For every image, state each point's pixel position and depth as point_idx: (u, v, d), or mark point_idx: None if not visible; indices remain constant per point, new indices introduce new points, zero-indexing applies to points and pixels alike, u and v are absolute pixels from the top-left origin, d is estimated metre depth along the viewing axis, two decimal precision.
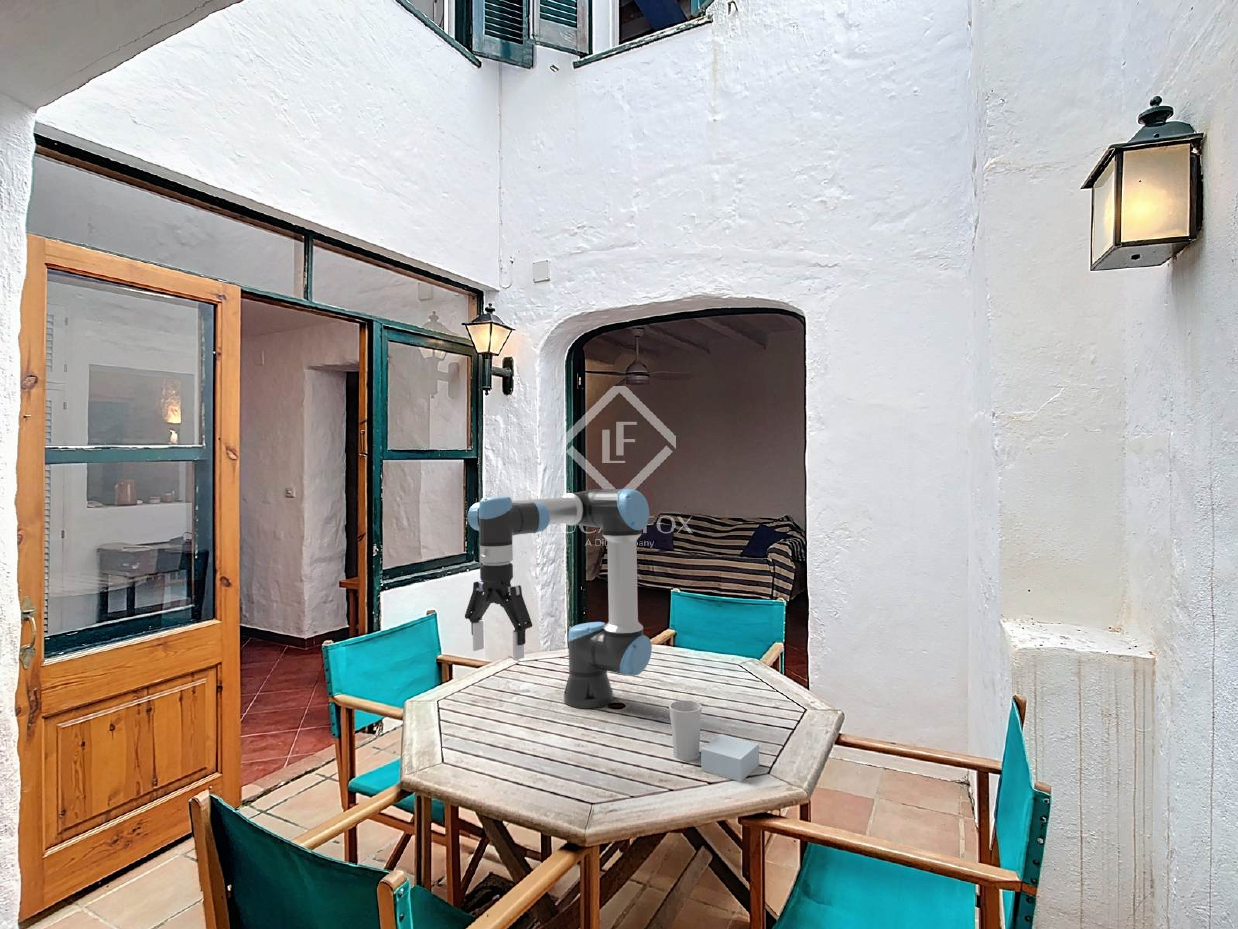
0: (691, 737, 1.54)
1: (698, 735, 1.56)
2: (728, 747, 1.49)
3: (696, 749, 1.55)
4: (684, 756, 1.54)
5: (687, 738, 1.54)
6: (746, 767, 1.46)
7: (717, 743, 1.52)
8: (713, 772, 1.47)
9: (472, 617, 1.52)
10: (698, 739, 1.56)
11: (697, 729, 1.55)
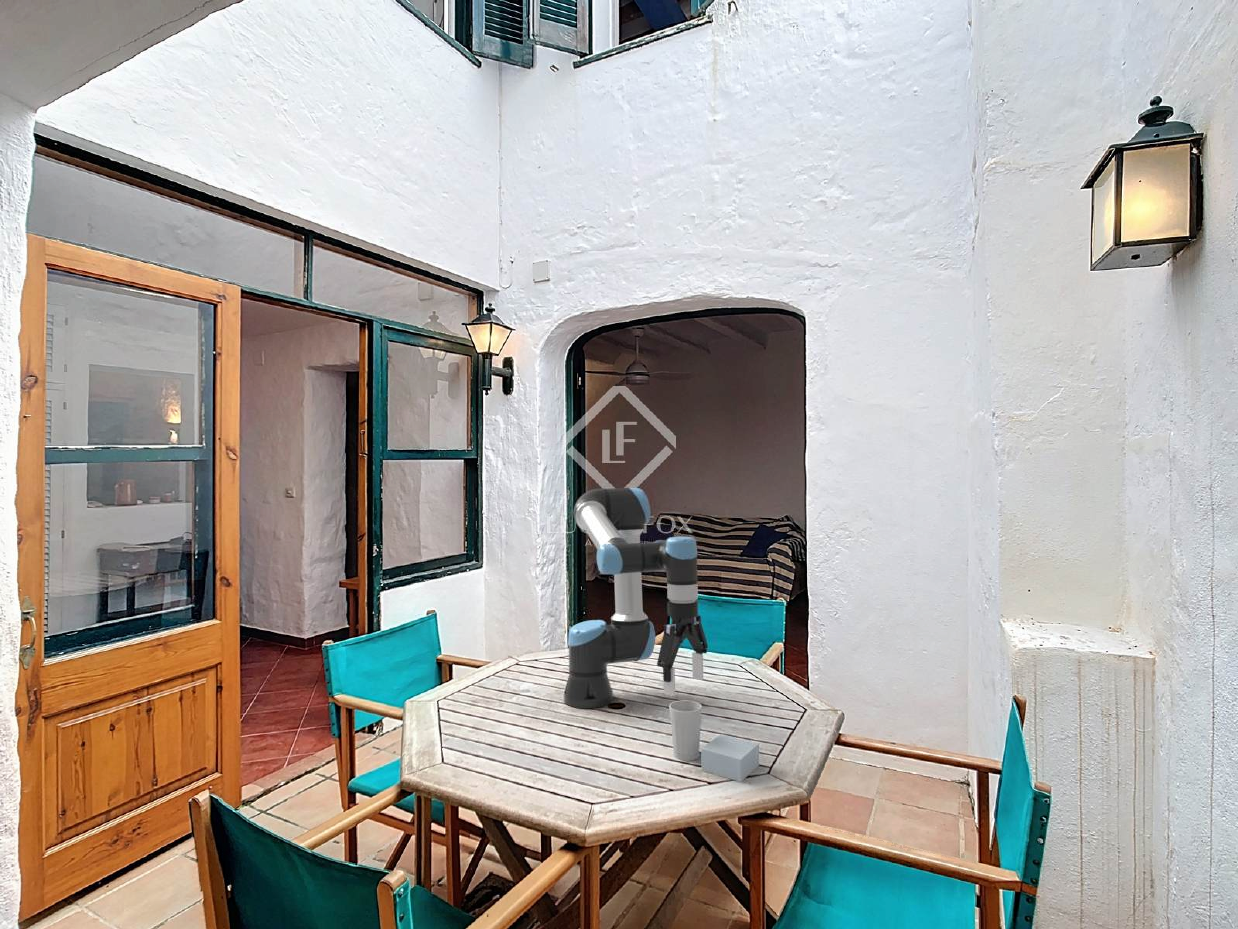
0: (691, 737, 1.54)
1: (698, 735, 1.56)
2: (728, 747, 1.49)
3: (696, 749, 1.55)
4: (684, 756, 1.54)
5: (687, 738, 1.54)
6: (746, 767, 1.46)
7: (717, 743, 1.52)
8: (713, 772, 1.47)
9: None
10: (698, 739, 1.56)
11: (697, 729, 1.55)
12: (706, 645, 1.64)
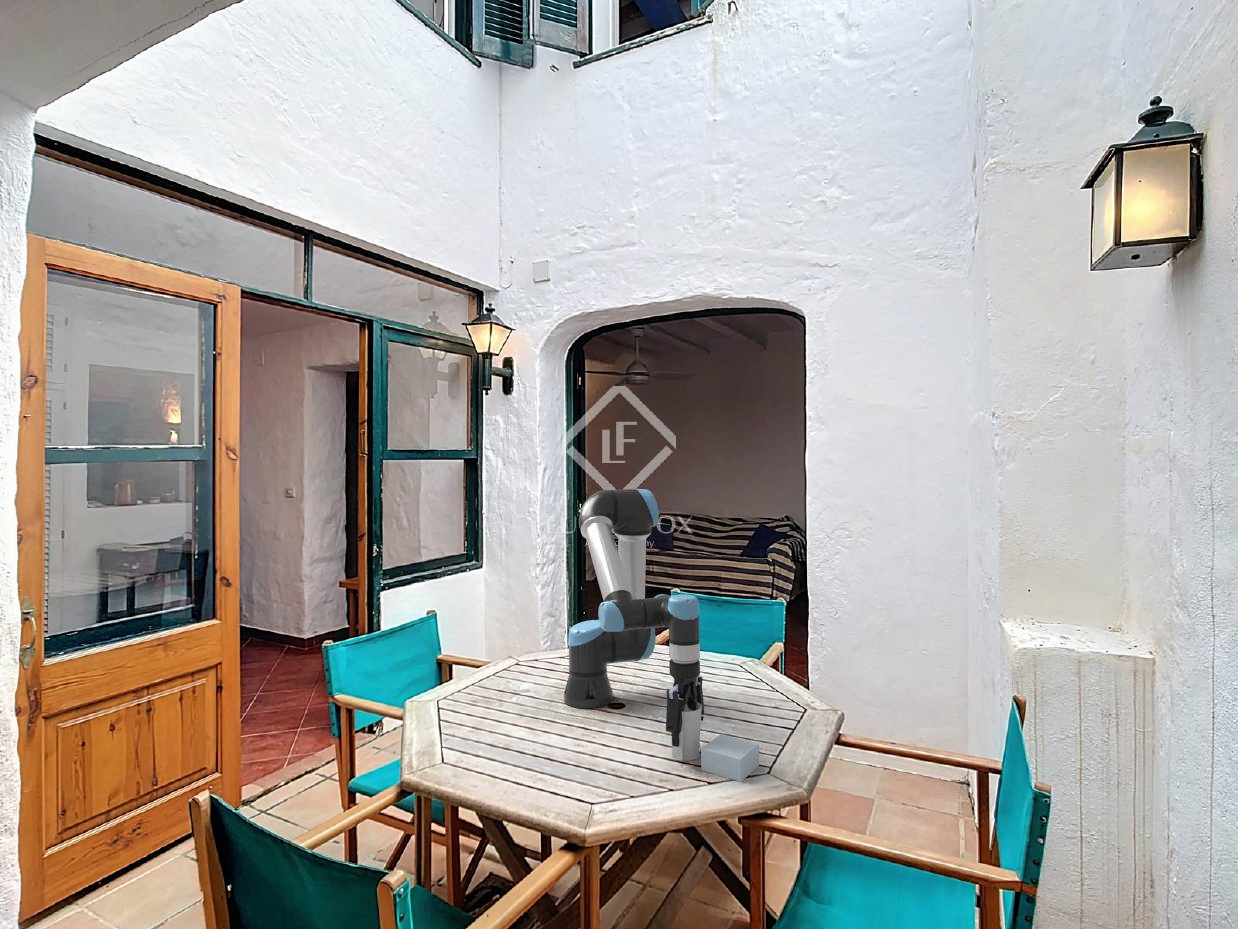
0: (691, 737, 1.54)
1: (698, 735, 1.56)
2: (728, 747, 1.49)
3: (696, 749, 1.55)
4: (684, 756, 1.54)
5: (687, 738, 1.54)
6: (746, 767, 1.46)
7: (717, 743, 1.52)
8: (713, 772, 1.47)
9: None
10: (698, 739, 1.56)
11: (697, 729, 1.55)
12: (703, 711, 1.62)
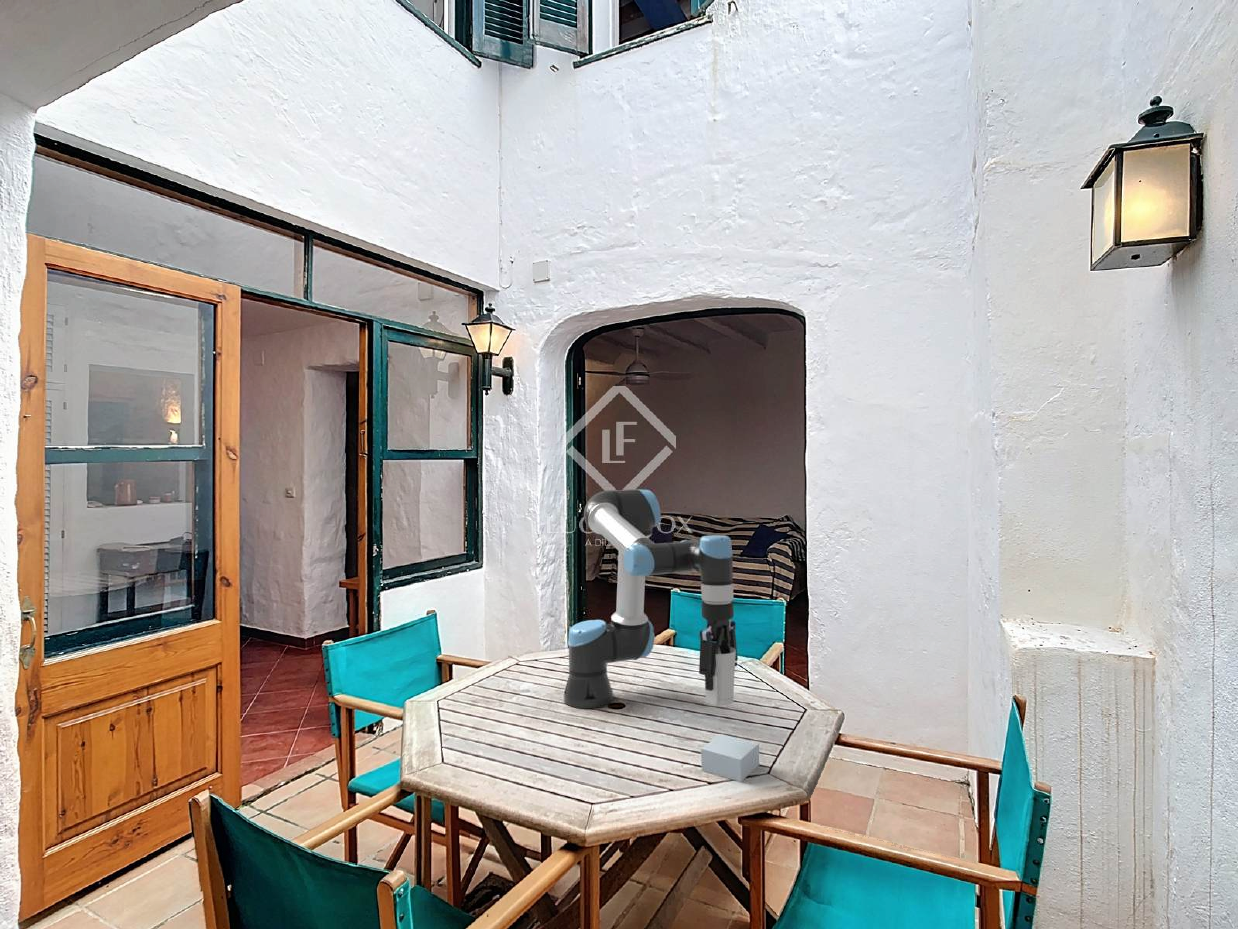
0: (725, 681, 1.48)
1: (732, 679, 1.50)
2: (728, 747, 1.49)
3: (730, 694, 1.49)
4: (718, 700, 1.48)
5: (721, 681, 1.48)
6: (746, 767, 1.46)
7: (717, 743, 1.52)
8: (713, 772, 1.47)
9: None
10: (732, 683, 1.50)
11: (731, 673, 1.49)
12: (736, 657, 1.56)
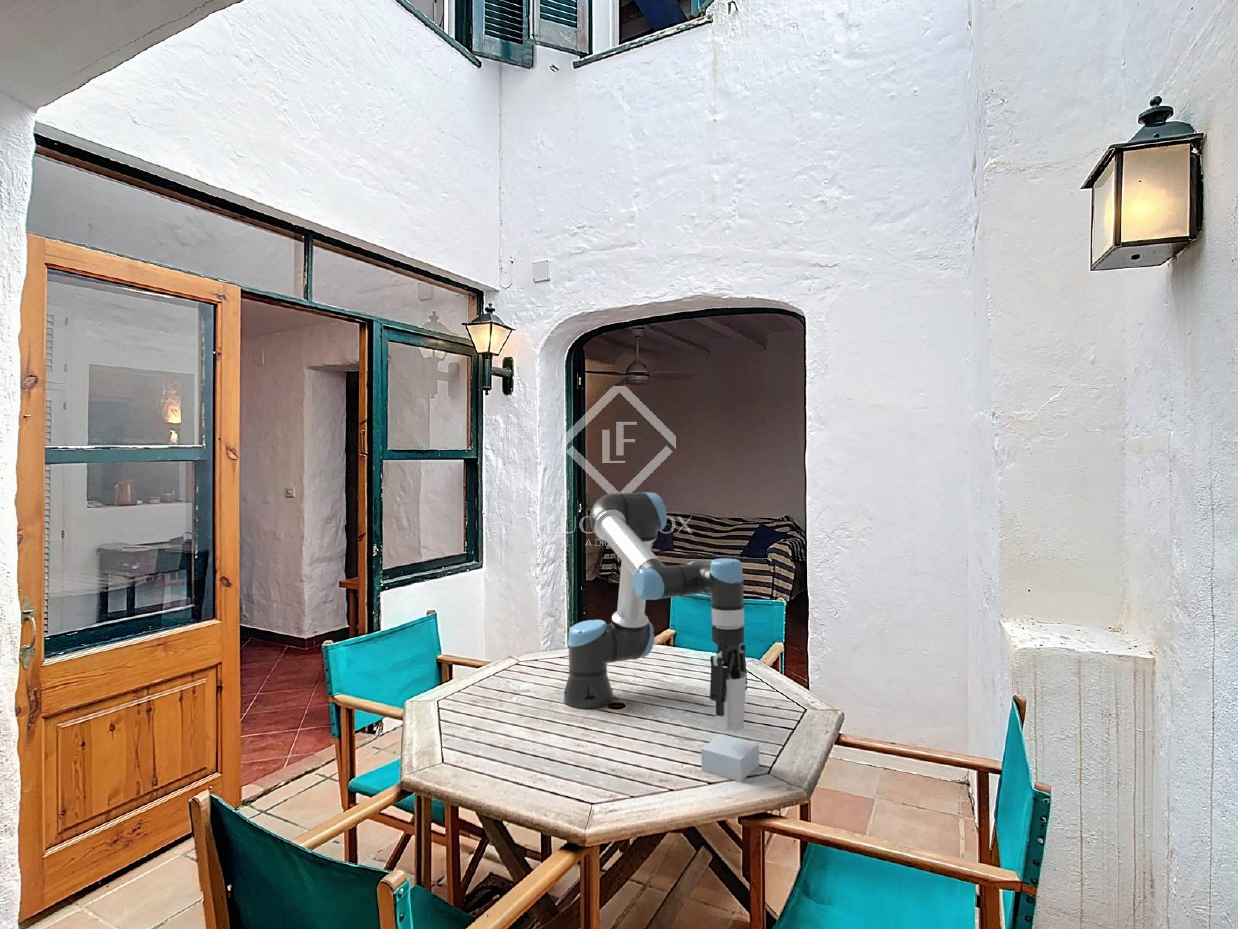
0: (736, 706, 1.47)
1: (743, 704, 1.49)
2: (728, 747, 1.49)
3: (741, 719, 1.48)
4: (729, 726, 1.47)
5: (732, 707, 1.47)
6: (746, 767, 1.46)
7: (717, 743, 1.52)
8: (713, 772, 1.47)
9: None
10: (743, 709, 1.49)
11: (742, 698, 1.48)
12: (746, 681, 1.55)
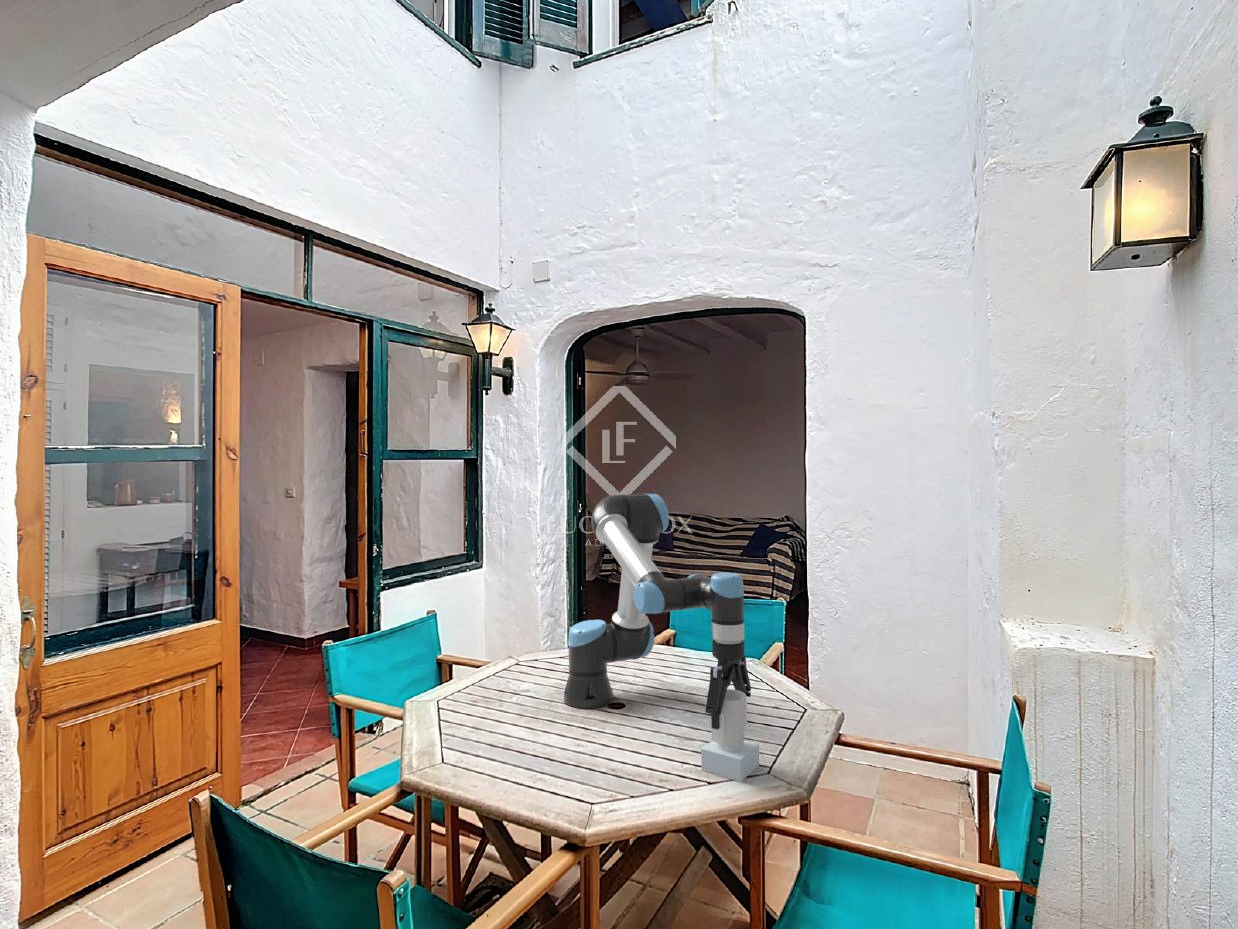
0: (736, 727, 1.47)
1: (743, 725, 1.49)
2: None
3: (741, 740, 1.48)
4: (729, 747, 1.47)
5: (732, 728, 1.47)
6: (746, 767, 1.46)
7: None
8: (713, 772, 1.47)
9: None
10: (743, 729, 1.49)
11: (742, 719, 1.48)
12: (749, 688, 1.57)
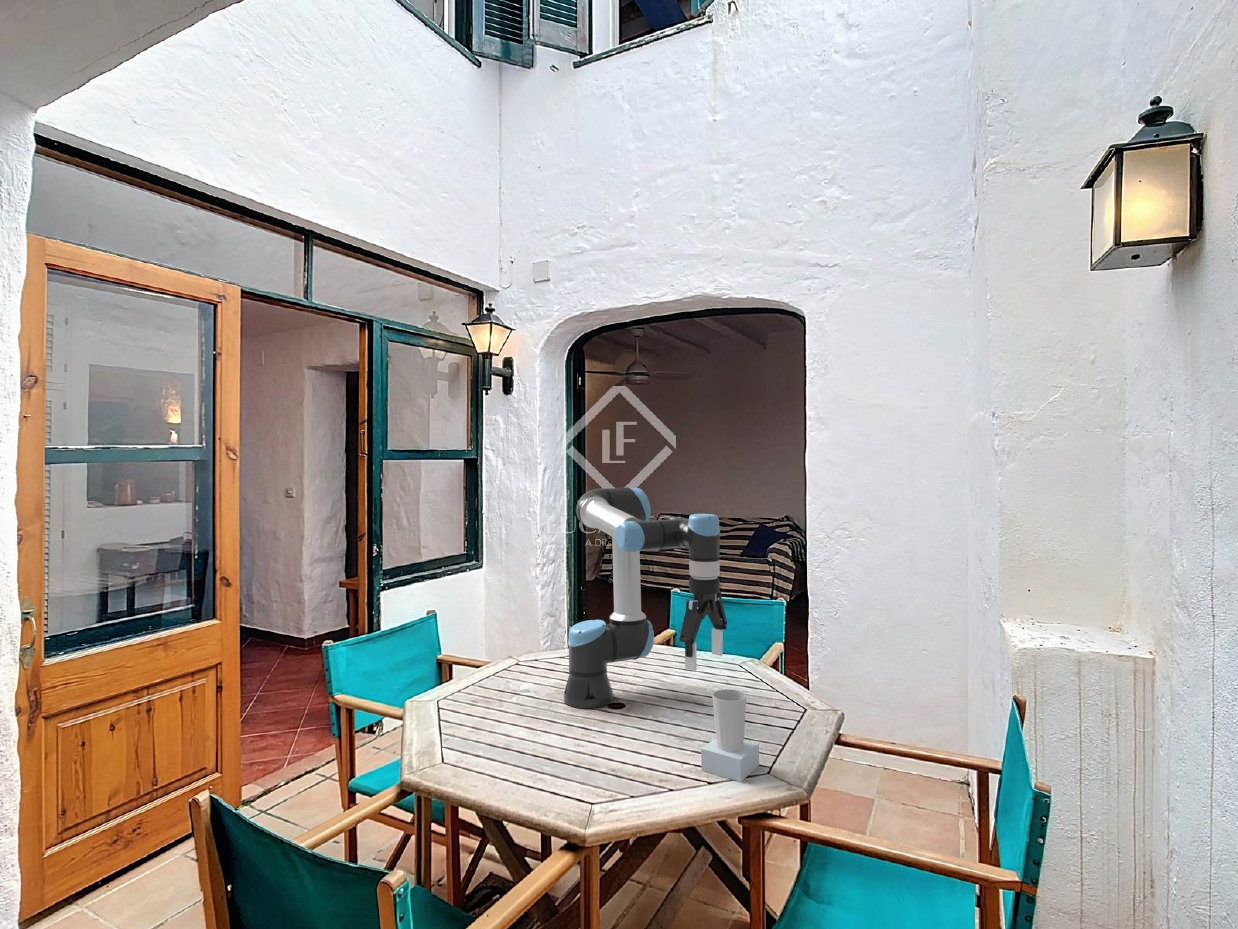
0: (736, 727, 1.47)
1: (743, 725, 1.49)
2: None
3: (741, 740, 1.48)
4: (729, 747, 1.47)
5: (732, 728, 1.47)
6: (746, 767, 1.46)
7: None
8: (713, 772, 1.47)
9: None
10: (743, 729, 1.49)
11: (742, 719, 1.48)
12: (725, 621, 1.65)
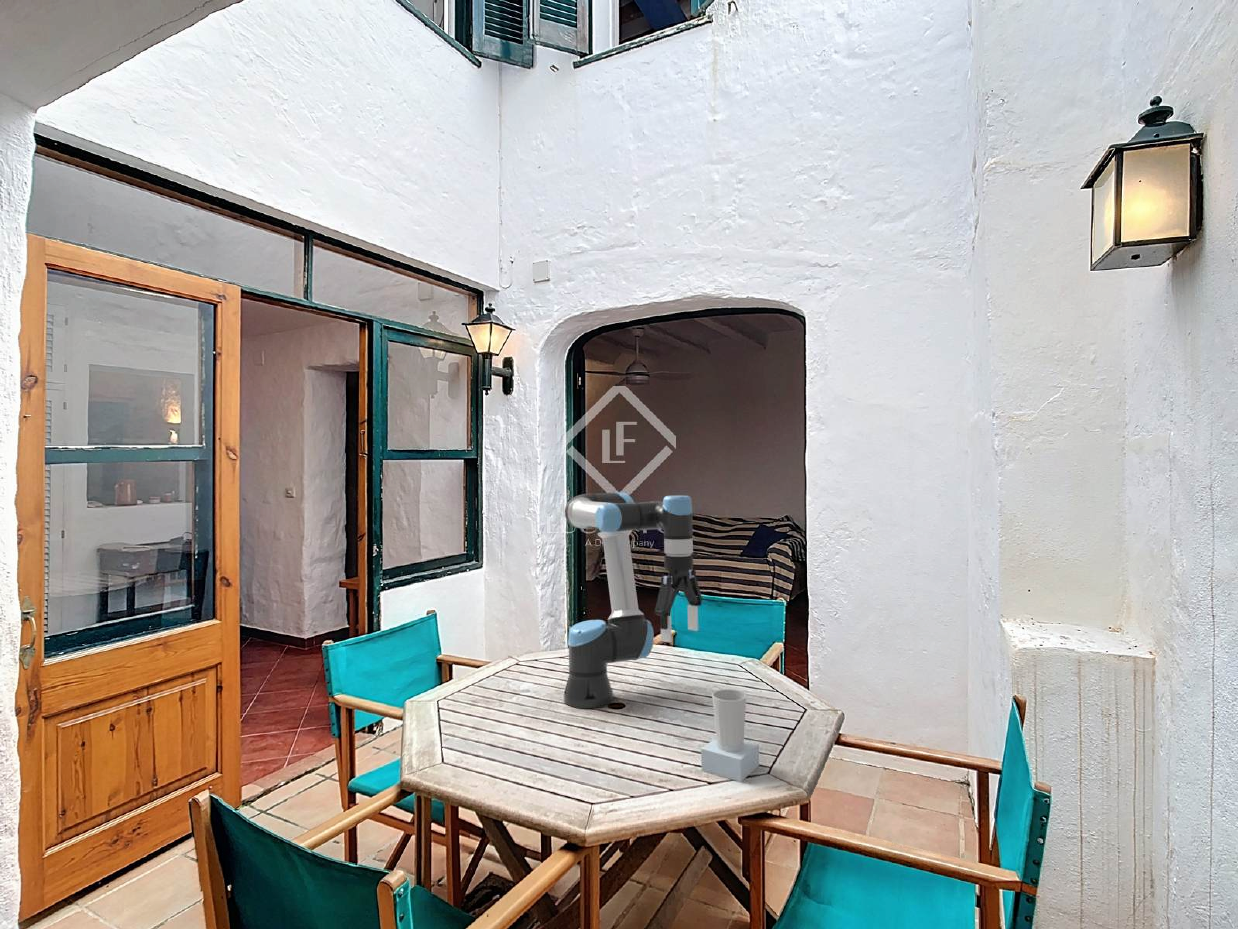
0: (736, 727, 1.47)
1: (743, 725, 1.49)
2: None
3: (741, 740, 1.48)
4: (729, 747, 1.47)
5: (732, 728, 1.47)
6: (746, 767, 1.46)
7: None
8: (713, 772, 1.47)
9: None
10: (743, 729, 1.49)
11: (742, 719, 1.48)
12: (701, 598, 1.74)
